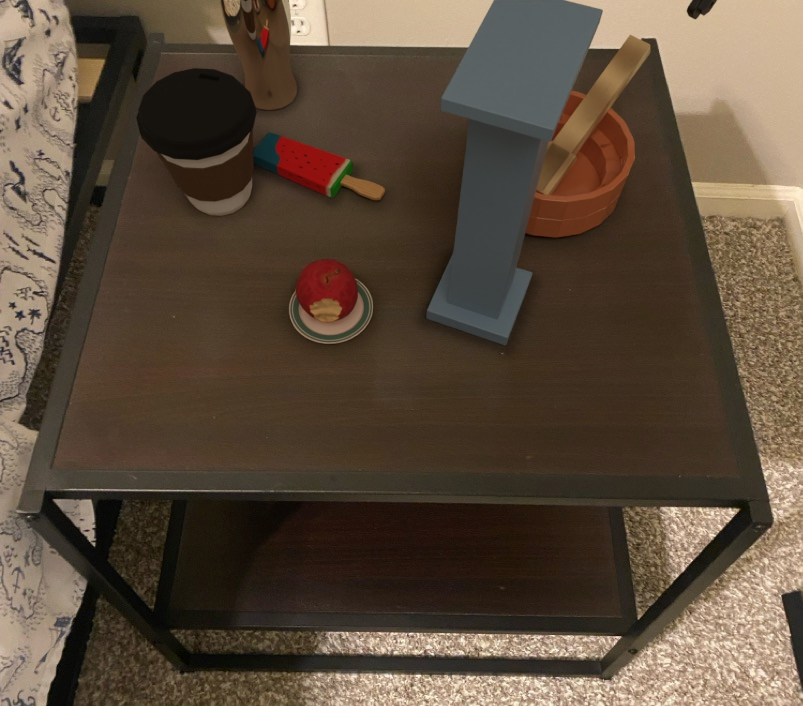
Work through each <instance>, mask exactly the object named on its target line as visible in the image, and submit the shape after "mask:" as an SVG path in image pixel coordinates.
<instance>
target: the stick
mask: <svg viewBox="0 0 803 706" xmlns="http://www.w3.org/2000/svg"><path fill="white" fill-rule="evenodd" d="M650 54H651V44H650V43H649V42H646V41H644V40H642V39H640V38H638V37H636V36H634V35H632V34H629V35H628V37H627V38H626V40H625V41H624V42H623V44H622V45H621V46H620V48H619V49H618V51H617V52H616V54H615V55H614V56H613V58H612V59H611V60H610V62H609V63H608V65H607V66H606V67H605V68H604V70H603V72H601V74H600V75H599V76H598V78H597V79H596V81H595V82H594V84H593V85H592V87H591V88H590V89H589V91H588V92H587V93H586V96H585V98H584V99H583V100H582V102H581V103H580V105H579V106H578V107H577V109H576V110H575V111H574V113H573V114H572V116H571V117H570V118H569V120H568V121H567V122H566V124H565V125H564V127H563V128H562V129H561V131H560V132H559V134H558V135H557V136H556V138H555V139H554V140H553V142H552V141H551V142H548V145H547V149H546V153H545V157H544V161H543V165H542V169H541V173H540V177H539V181H538V185H537V189H536V192H537V193H540V194H546V195H551V194H552V193H553V192H554V190H555V189H556V187H557V186H558V185H559V183H560V182H561V181H562V179H563V178H564V176H565V175H566V174H567V172H568V171H569V170H570V168H571V167H572V166H573V164H574V163H575V161H576V160H577V157H576V154H577V153H578V151H579V150H580V149H581V147H582V146H583V144H584V143H585V142H586V140H587V139H588V138H589V136H590V135H591V133H592V132H593V131H594V129H595V128H596V127H597V125H598V124H599V122H600V121H601V120H602V118H603V117H604V116H605V114H606V113H607V112H608V110H609V109H610V107H611V108H612V106H614V103H615V102H616V101H617V99H618V98H619V97H620V95H621V94H622V92H624V90H625V89H626V87H627V86H628V84H629V83H630V82H631V80H632V79H633V77H634V76H635V75H636V73H638V71H639V69H640V68H641V67H642V65H643V64H644V62H645V61H646V60H647V58H648V57H649V55H650Z"/></svg>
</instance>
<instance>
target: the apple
mask: <svg viewBox="0 0 803 706" xmlns="http://www.w3.org/2000/svg"><path fill="white" fill-rule="evenodd" d="M373 310H374V302H373V297H372V294H371V293H370V290H369V289H368V288H367V287H366V285H364V283H362V282H361V281H360V280H359V279H357V278H356V277H355V276H354V274H353V272H352V271H351V270H350V268H349V267H348V266H347V265H346V264H345V263H342V262H341V261H339V260H336V259H331V258H324V259H323V258H322V259H317V260H314V261H312V262H310V263H308V264H307V265H305V266H304V267H303V269H302V270H301V271H300V273H299V276H298V278H297V282H296V285H295V291H294V292H293V293H292V295H291V298H290V300H289V305H288V315H289V319H290V321H291V324H292V325H293V327H294V329H295V330H296V331H297V332H298V333H299V334H300V335H301V336H303V337H304V338H305V339H307V340H310V341H312V342H315V343H318V344H324V345H333V344H340V343H344V342H348V341H349V340H352V339H354V338H356V337H357V336H358V335H359V334H362V332H363V331H364V330H365V329H366V328H367V326H368V325H369V323H370V321H371V319H372V317H373V312H374V311H373Z"/></svg>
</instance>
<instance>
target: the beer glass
mask: <svg viewBox="0 0 803 706" xmlns="http://www.w3.org/2000/svg"><path fill="white" fill-rule="evenodd" d="M219 3H220V9H221V13H222V17H223V20H224V25H225V27H226V30H227V33H228V35H229V39H230V40H231V43H232V45H233V47H234V49H235V52H236V54H237V57H238V59H239V61H240V64H241V66H242V71H243V75H244V86H245V88H246V89H247V90H249V91H250V92H251V95H252V98H253V101H254V104H255V107H256V109H259V110H264V111H275V110H280V109H283V108H285V107H287V106H289V105H290V104H292V102H294V100H295V99H296V98H297V95H298V85H297V82H296V80H295V77H294V74H293V70H292V67H291V57H290V56H291V38H292V37H291V36H292V14H291V4H290V0H219Z"/></svg>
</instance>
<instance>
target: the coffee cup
mask: <svg viewBox="0 0 803 706" xmlns="http://www.w3.org/2000/svg"><path fill="white" fill-rule="evenodd" d="M257 113H258V112H257V108H256V107H255V104H254V101H253V98H252V95H251V92H250V91H249V90H247V89H246V88H245V84H243V83H241V82H240V80H238V79H237V78H236V77H235V76H234V75H231V74H229V73H226V72H223V71H220V70H218V69H214V68H200V67H193V68H192V67H191V68H188V69H183V70H178V71H174V72H171V73H170V74H168V75H166V76H165V77H162V78H161V79H159V80H156V82H154V84H152V85H151V86H150V87H149V88H148V90H147V91H146V92H145V93H144V94H143V95H142V98H141V100H140V103H139V106H138V109H137V114H136V118H135V119H136V122H137V126H138V131H139V135H140V137H141V139H142V141H144V143H146V144H147V145H148V146H149V148H151V150H152V151H154V152H155V153H156V154H157V156H158V157H159V159H160V161H161V162H162V163H163V165H164V167H165V168H166V170H167V172H168V174H169V175H170V176H171V178H172V179H173V181H174V182H175V184H176V185H177V187H178V188H179V189H180V191H182V193H184V196H186V198H187V200H188V201H189V202H190V203H191V204H192V206H194V207H195V208H196V210H198V211H200V212H201V213H204V214H207V215H208V216H217V217H219V216H220V217H223V216H227V215H230V214H234V213H236V212H237V211H239V210H240V209H242V208H243V207H244V206H245V205H246V203H248V201H249V198H250V196H251V194H252V190H253V189H252V188H253V173H254V169H255V168H254V165H255V164H254V163H253V150H254V134H253V133H254V132H253V130H254V127H255V122H256V117H257Z"/></svg>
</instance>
